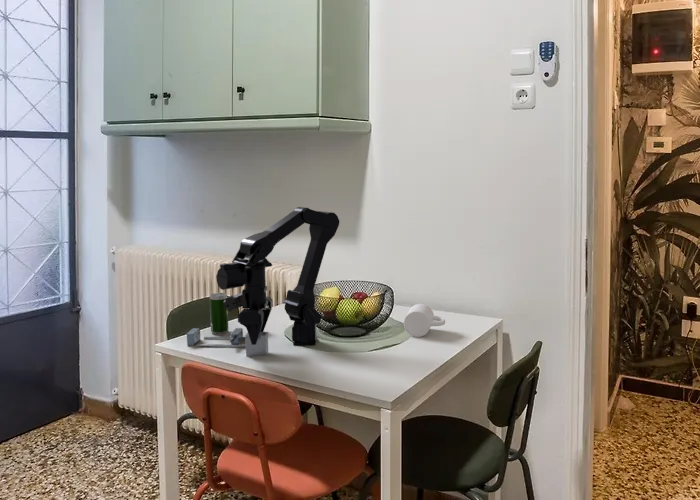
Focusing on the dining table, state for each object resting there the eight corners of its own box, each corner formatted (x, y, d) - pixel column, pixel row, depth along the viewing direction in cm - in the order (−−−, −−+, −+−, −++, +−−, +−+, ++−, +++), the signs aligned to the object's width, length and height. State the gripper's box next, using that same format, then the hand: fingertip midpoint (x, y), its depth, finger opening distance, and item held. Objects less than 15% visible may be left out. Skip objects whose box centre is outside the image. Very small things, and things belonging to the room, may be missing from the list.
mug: (403, 336, 195) (403, 310, 194) (408, 327, 205) (408, 303, 203) (443, 338, 192) (443, 312, 191) (446, 329, 202) (447, 304, 201)
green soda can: (214, 335, 198) (213, 297, 196) (208, 331, 202) (206, 294, 201) (231, 332, 201) (229, 294, 199) (224, 328, 205) (222, 291, 203)
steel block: (248, 352, 181) (248, 331, 181) (268, 352, 181) (267, 331, 180) (246, 356, 178) (245, 335, 177) (266, 356, 178) (265, 335, 177)
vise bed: (253, 338, 194) (253, 327, 194) (247, 347, 186) (247, 335, 185) (194, 338, 195) (193, 327, 195) (186, 346, 187) (185, 335, 186)
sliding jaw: (243, 339, 193) (242, 328, 193) (235, 349, 184) (235, 337, 183) (235, 338, 194) (234, 328, 193) (227, 348, 184) (227, 337, 183)
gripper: (233, 277, 186) (236, 330, 189) (217, 291, 168) (219, 349, 170) (272, 277, 186) (273, 330, 188) (259, 291, 167) (261, 350, 170)
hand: (257, 339), depth 179 cm, fingers open, 9 cm apart
